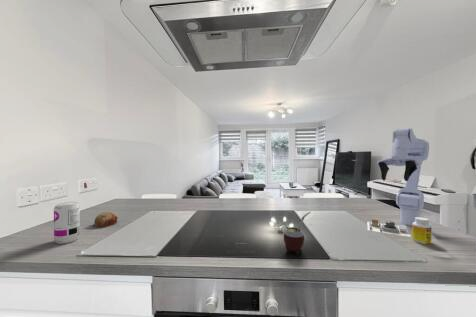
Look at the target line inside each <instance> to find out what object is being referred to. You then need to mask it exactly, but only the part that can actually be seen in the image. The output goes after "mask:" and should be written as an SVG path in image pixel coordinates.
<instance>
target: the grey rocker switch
mask: <svg viewBox="0 0 476 317" xmlns="http://www.w3.org/2000/svg"><path fill="white" fill-rule="evenodd" d="M398 226H399V229H400V231H404V232H407V230H408V228H407V225H405V224H402V223H399V224H398Z"/></svg>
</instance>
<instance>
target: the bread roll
mask: <svg viewBox="0 0 476 317" xmlns="http://www.w3.org/2000/svg"><path fill="white" fill-rule="evenodd" d="M117 223H118V216H117V215H116V214H114V213H113V212H109V211H105V212H101V213H99V214H97V216H96V217H95V218H94V223H93V227H95V228H97V229H98V228H107V227H109V226H110V227H111V226H114V225H115V224H116V225H117Z"/></svg>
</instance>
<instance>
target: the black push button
mask: <svg viewBox="0 0 476 317" xmlns="http://www.w3.org/2000/svg"><path fill="white" fill-rule="evenodd" d="M385 224H386V227H389V228H395V226H396V223H395V222H394V221H392V220H391V221H390V220H387V221H385Z"/></svg>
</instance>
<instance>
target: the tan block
mask: <svg viewBox="0 0 476 317" xmlns="http://www.w3.org/2000/svg"><path fill="white" fill-rule="evenodd" d="M371 222H372V226H377V227H378V223H379V218H377V217H371Z"/></svg>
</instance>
